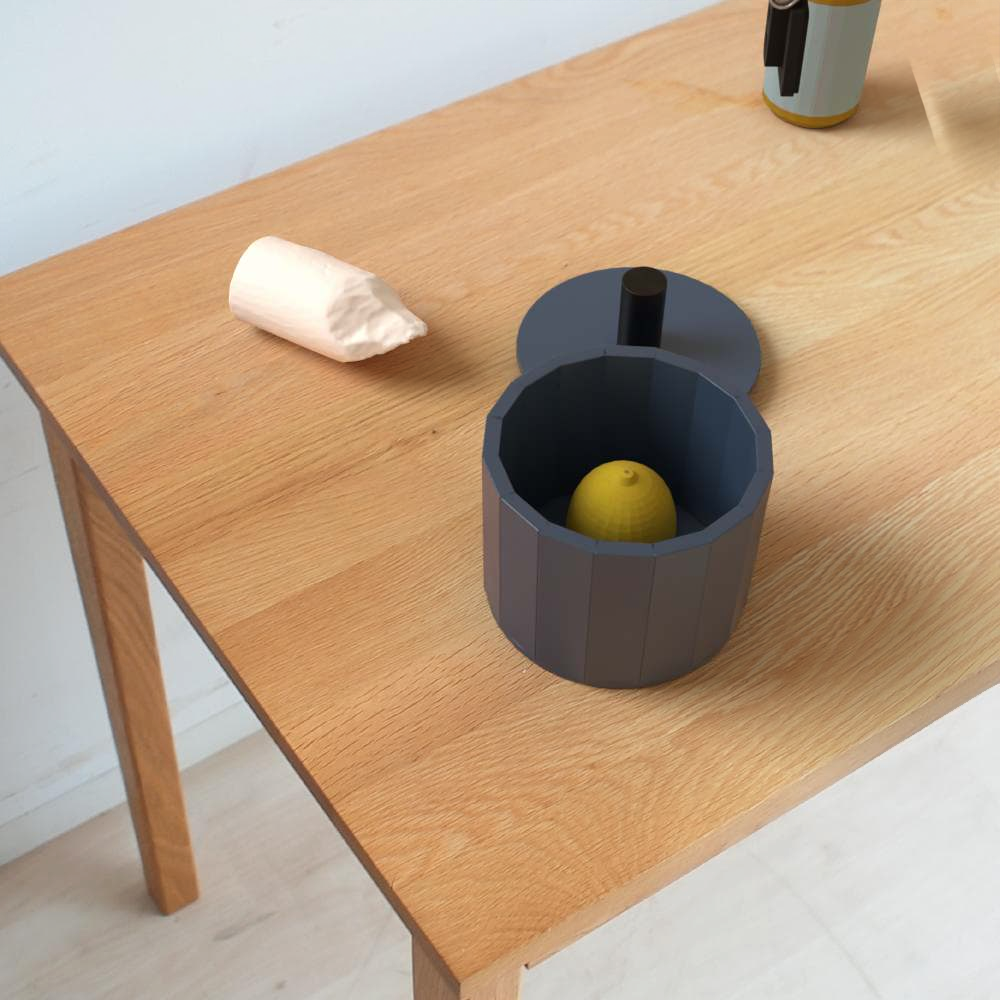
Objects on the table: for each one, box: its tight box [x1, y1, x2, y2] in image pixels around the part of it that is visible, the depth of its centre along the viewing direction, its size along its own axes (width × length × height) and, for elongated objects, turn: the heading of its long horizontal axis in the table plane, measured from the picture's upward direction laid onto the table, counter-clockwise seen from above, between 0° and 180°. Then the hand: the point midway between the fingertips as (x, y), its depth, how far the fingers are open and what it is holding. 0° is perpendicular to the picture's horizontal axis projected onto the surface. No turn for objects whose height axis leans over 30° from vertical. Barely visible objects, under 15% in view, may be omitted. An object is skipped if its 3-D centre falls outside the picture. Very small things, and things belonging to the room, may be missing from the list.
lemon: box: [566, 460, 677, 544], centre depth 73 cm, size 6×6×8 cm
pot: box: [481, 345, 775, 690], centre depth 72 cm, size 14×14×10 cm
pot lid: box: [515, 265, 762, 396], centre depth 85 cm, size 15×15×6 cm
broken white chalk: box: [228, 235, 429, 363], centre depth 86 cm, size 6×12×6 cm, turn 59°
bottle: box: [761, 0, 883, 129], centre depth 99 cm, size 7×7×15 cm
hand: (902, 79), depth 61 cm, fingers open, 9 cm apart
